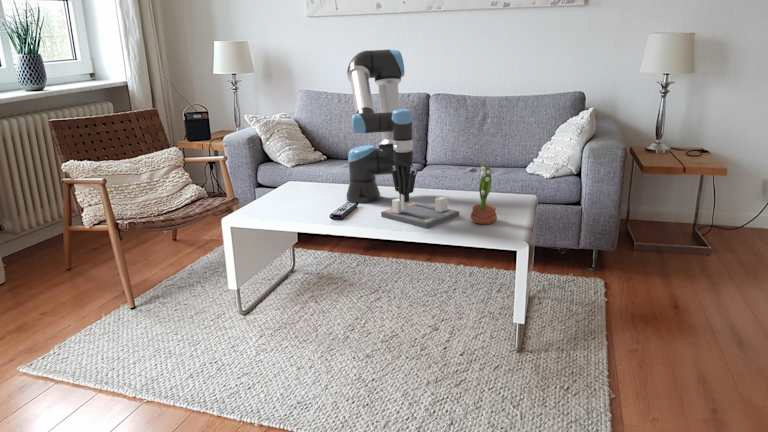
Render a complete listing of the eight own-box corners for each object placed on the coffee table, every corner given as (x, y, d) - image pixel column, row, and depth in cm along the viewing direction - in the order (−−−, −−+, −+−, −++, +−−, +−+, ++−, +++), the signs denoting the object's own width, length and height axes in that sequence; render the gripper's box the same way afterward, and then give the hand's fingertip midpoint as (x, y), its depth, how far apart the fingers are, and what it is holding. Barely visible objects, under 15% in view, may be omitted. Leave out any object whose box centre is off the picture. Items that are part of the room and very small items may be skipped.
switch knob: (435, 210, 231) (435, 198, 230) (441, 208, 234) (441, 196, 233) (441, 212, 229) (440, 199, 228) (447, 209, 232) (447, 197, 230)
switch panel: (381, 216, 234) (381, 211, 233) (414, 205, 247) (414, 201, 247) (426, 228, 217) (426, 223, 217) (459, 216, 231) (459, 211, 230)
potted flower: (496, 227, 216) (498, 161, 208) (469, 226, 218) (470, 161, 210) (497, 218, 227) (498, 155, 220) (471, 217, 229) (471, 154, 222)
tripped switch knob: (392, 212, 232) (392, 200, 230) (399, 209, 234) (399, 197, 233) (397, 213, 229) (397, 201, 228) (404, 211, 232) (404, 199, 231)
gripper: (384, 150, 224) (386, 208, 231) (409, 153, 215) (410, 214, 222) (397, 147, 229) (399, 204, 236) (422, 150, 220) (423, 210, 227)
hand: (404, 209), depth 229 cm, fingers closed
